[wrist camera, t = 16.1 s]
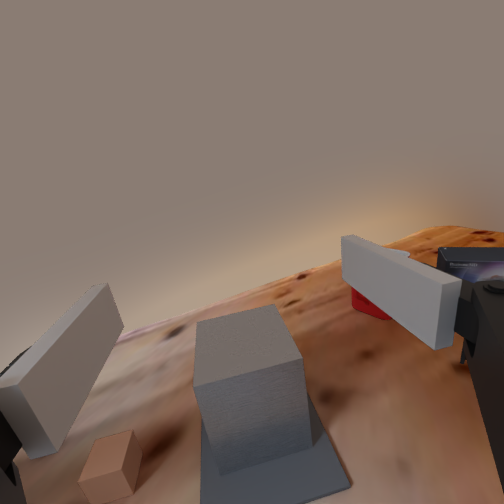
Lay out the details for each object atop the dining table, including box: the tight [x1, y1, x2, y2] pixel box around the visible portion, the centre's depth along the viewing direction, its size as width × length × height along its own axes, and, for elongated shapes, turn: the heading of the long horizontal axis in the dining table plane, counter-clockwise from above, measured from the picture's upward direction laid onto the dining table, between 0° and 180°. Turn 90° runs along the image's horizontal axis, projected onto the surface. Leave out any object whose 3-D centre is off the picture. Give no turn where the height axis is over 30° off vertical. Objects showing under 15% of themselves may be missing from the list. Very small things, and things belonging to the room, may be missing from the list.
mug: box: [351, 248, 410, 320], centre depth 46 cm, size 12×8×11 cm
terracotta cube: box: [78, 430, 143, 504], centre depth 26 cm, size 4×4×4 cm
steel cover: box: [193, 304, 313, 477], centre depth 29 cm, size 10×10×12 cm
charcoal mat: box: [200, 393, 351, 504], centre depth 31 cm, size 14×18×1 cm
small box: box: [436, 247, 504, 283], centre depth 42 cm, size 11×6×10 cm, turn 65°
